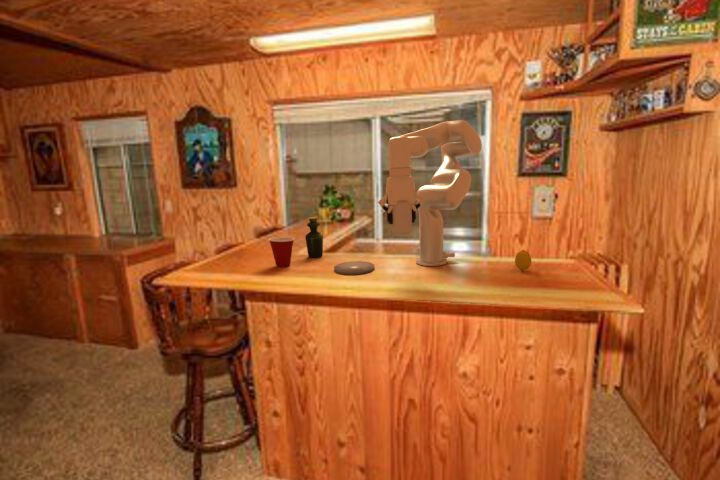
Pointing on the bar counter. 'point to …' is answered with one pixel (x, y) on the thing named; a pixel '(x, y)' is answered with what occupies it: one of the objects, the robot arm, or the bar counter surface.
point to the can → (401, 218)
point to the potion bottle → (314, 239)
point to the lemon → (523, 260)
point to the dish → (354, 268)
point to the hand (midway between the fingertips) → (401, 222)
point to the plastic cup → (282, 250)
